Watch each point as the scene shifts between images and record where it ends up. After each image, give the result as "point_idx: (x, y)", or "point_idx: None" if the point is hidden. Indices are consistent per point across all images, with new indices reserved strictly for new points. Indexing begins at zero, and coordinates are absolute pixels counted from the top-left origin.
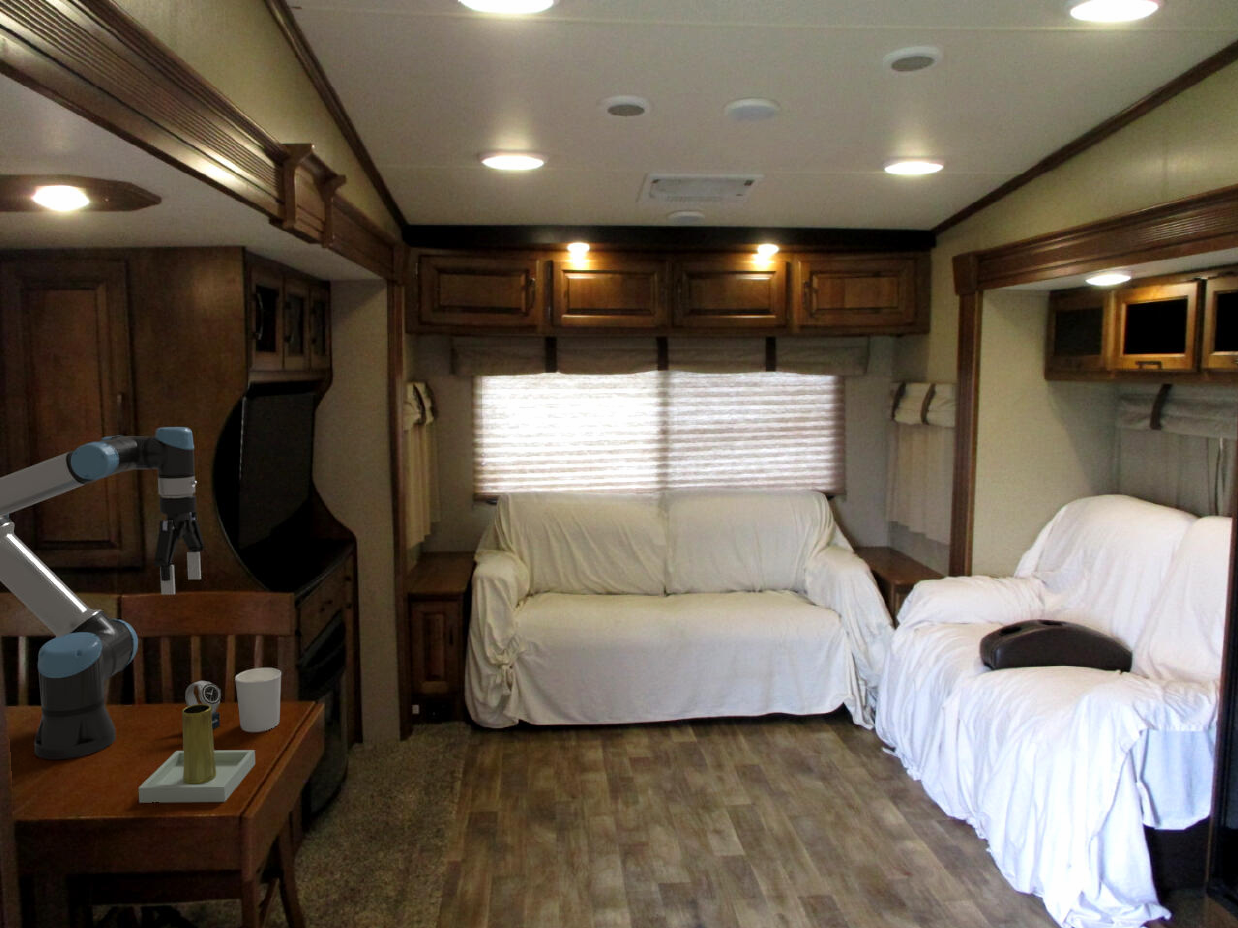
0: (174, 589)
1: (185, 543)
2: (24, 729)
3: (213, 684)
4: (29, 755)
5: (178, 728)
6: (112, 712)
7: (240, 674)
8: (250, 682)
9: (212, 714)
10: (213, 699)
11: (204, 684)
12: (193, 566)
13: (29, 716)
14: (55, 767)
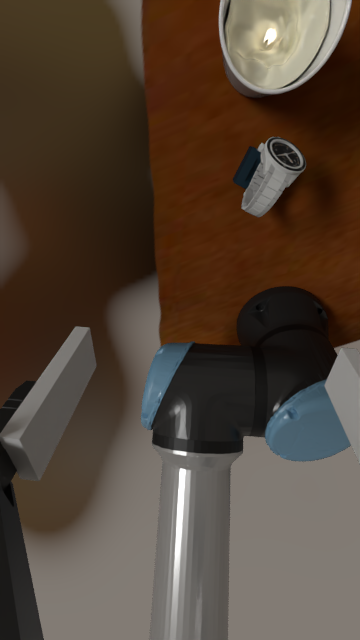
0: (357, 361)
1: (26, 558)
2: None
3: (271, 156)
4: None
5: (249, 216)
6: (180, 322)
7: (258, 87)
8: (348, 12)
9: (255, 159)
10: (287, 148)
11: (279, 174)
12: (69, 389)
13: None
14: (344, 319)
